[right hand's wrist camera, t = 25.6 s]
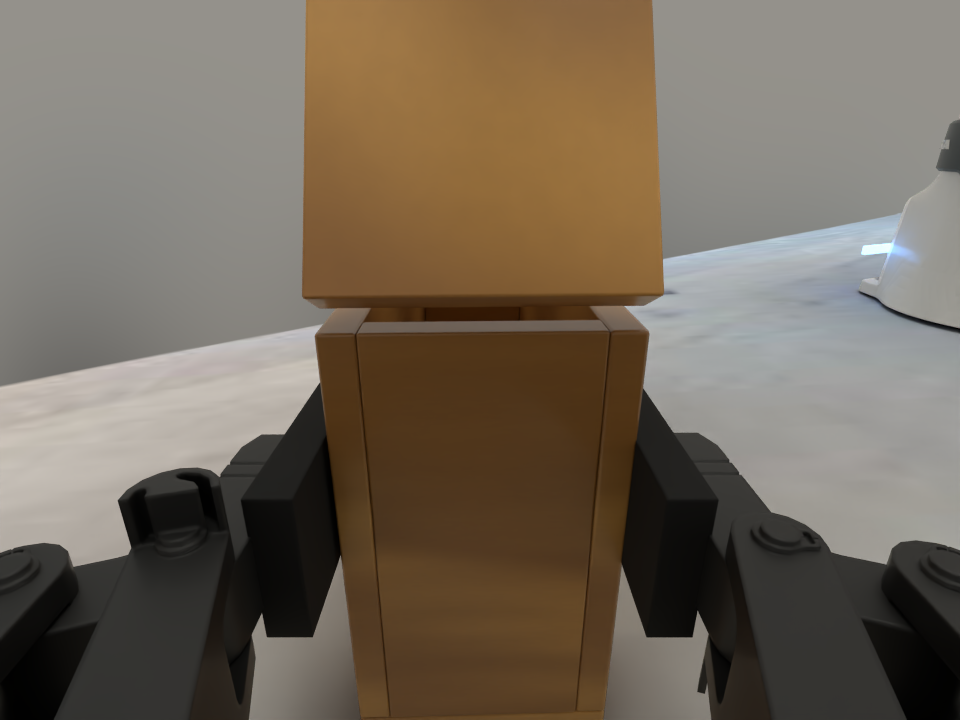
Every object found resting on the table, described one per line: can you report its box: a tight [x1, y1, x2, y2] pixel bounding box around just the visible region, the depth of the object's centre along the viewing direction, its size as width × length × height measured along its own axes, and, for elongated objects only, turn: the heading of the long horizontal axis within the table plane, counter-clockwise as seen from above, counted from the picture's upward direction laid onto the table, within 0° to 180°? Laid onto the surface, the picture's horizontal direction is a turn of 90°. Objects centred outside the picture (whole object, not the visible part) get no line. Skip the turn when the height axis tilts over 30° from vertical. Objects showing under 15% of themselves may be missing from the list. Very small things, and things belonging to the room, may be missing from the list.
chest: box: [315, 306, 649, 720], centre depth 17 cm, size 15×5×10 cm, turn 2°
